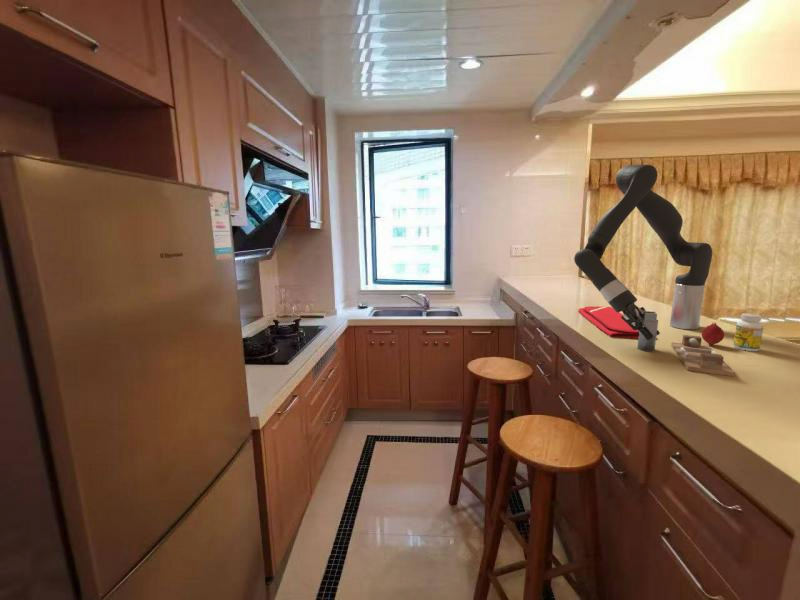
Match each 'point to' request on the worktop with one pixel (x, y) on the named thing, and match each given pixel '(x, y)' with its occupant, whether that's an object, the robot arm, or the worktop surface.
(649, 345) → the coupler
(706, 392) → the worktop surface
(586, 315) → the red folded towel
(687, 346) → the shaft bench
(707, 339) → the onion
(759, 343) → the supplement bottle
